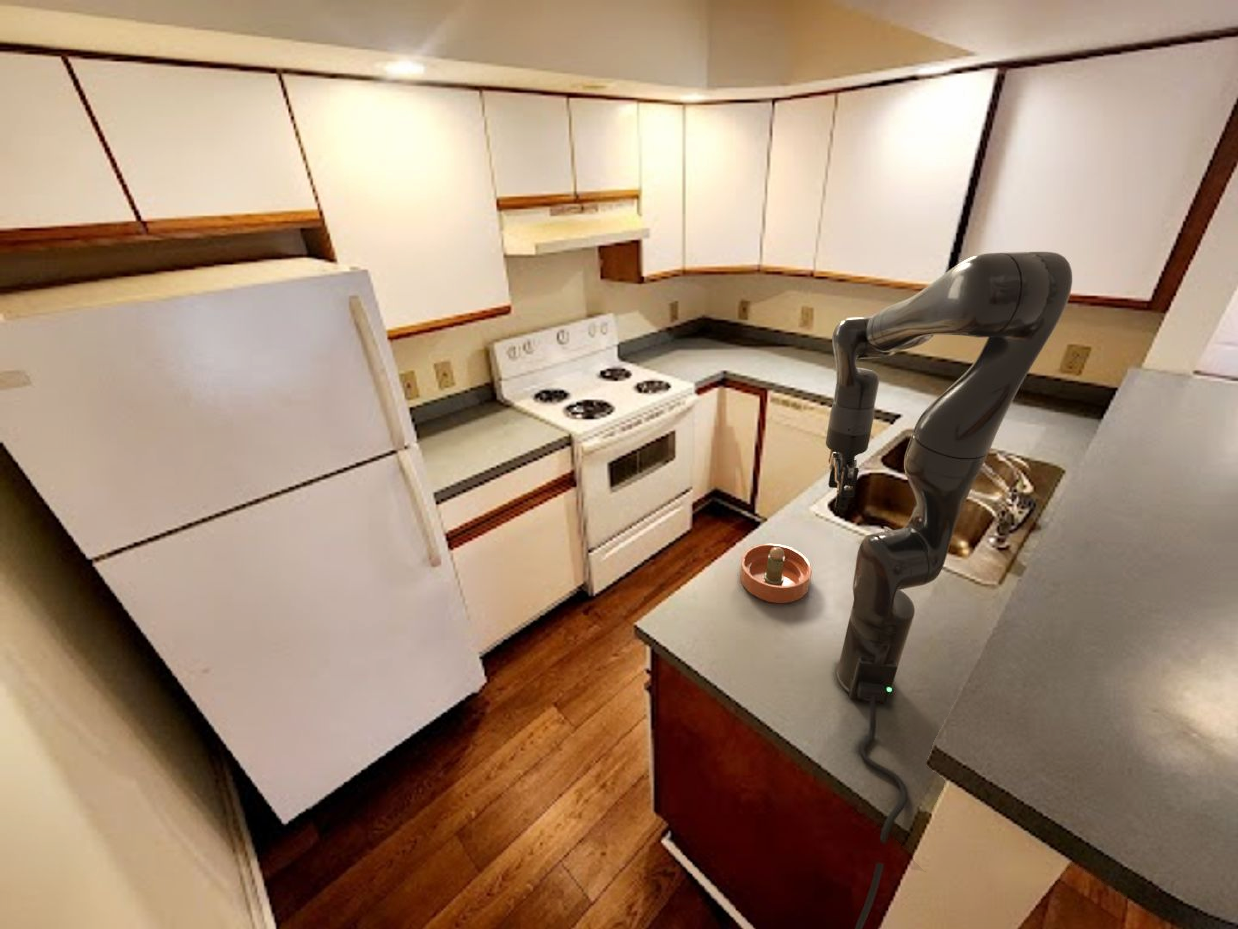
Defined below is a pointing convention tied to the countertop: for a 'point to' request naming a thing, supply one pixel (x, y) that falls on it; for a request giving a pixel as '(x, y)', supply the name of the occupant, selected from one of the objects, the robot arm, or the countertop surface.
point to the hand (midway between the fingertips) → (837, 497)
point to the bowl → (793, 572)
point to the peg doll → (775, 567)
